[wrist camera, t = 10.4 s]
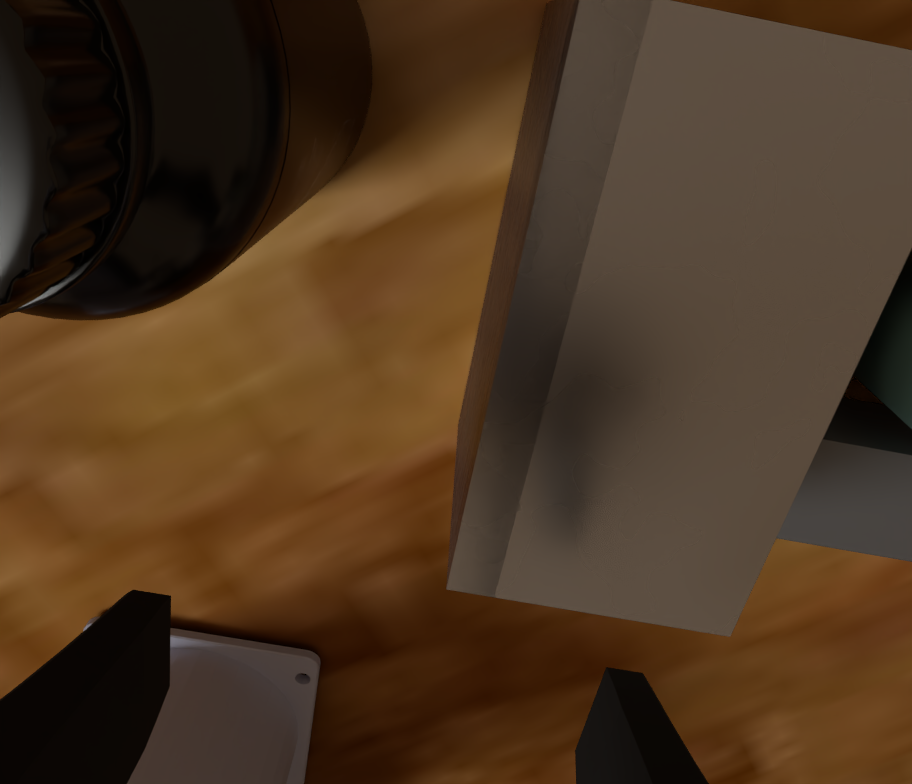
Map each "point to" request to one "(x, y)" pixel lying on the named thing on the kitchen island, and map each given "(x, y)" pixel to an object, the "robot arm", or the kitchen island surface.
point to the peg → (892, 351)
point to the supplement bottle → (163, 140)
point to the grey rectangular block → (674, 304)
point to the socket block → (858, 484)
